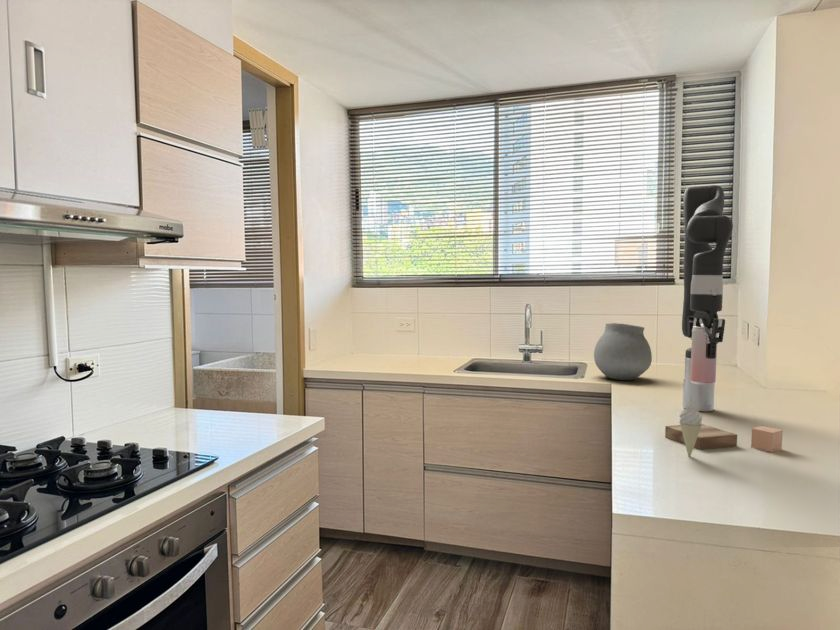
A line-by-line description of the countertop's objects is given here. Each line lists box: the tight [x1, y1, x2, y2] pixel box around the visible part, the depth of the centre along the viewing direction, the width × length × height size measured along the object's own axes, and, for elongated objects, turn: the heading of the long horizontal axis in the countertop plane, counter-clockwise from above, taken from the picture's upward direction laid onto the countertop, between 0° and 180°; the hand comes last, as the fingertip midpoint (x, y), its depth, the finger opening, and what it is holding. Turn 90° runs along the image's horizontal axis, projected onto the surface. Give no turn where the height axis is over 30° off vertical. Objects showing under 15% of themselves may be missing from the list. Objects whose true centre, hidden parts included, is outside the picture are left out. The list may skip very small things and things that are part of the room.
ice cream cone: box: [678, 395, 704, 458], centre depth 134 cm, size 5×5×15 cm
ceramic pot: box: [593, 322, 653, 381], centre depth 249 cm, size 24×24×25 cm
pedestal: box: [664, 423, 738, 450], centre depth 147 cm, size 12×12×3 cm
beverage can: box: [690, 326, 719, 385], centre depth 146 cm, size 6×6×15 cm
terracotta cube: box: [750, 425, 784, 453], centre depth 142 cm, size 5×5×5 cm
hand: (703, 356), depth 146 cm, fingers closed on beverage can, 6 cm apart
